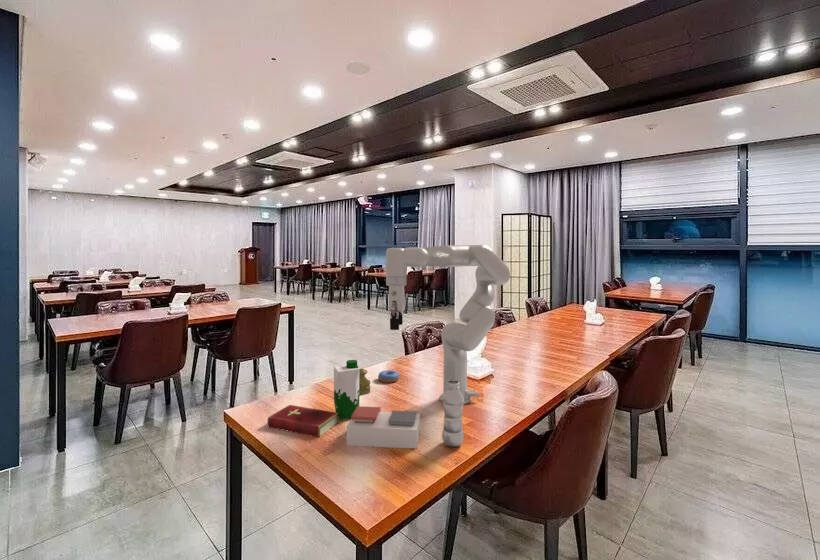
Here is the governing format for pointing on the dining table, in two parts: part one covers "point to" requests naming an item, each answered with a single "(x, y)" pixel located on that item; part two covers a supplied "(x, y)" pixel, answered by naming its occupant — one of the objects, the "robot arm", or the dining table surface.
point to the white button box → (383, 433)
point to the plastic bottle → (453, 415)
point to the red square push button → (366, 414)
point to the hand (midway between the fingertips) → (396, 327)
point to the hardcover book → (303, 420)
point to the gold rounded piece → (363, 382)
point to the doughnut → (388, 376)
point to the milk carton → (346, 389)
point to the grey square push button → (403, 417)
